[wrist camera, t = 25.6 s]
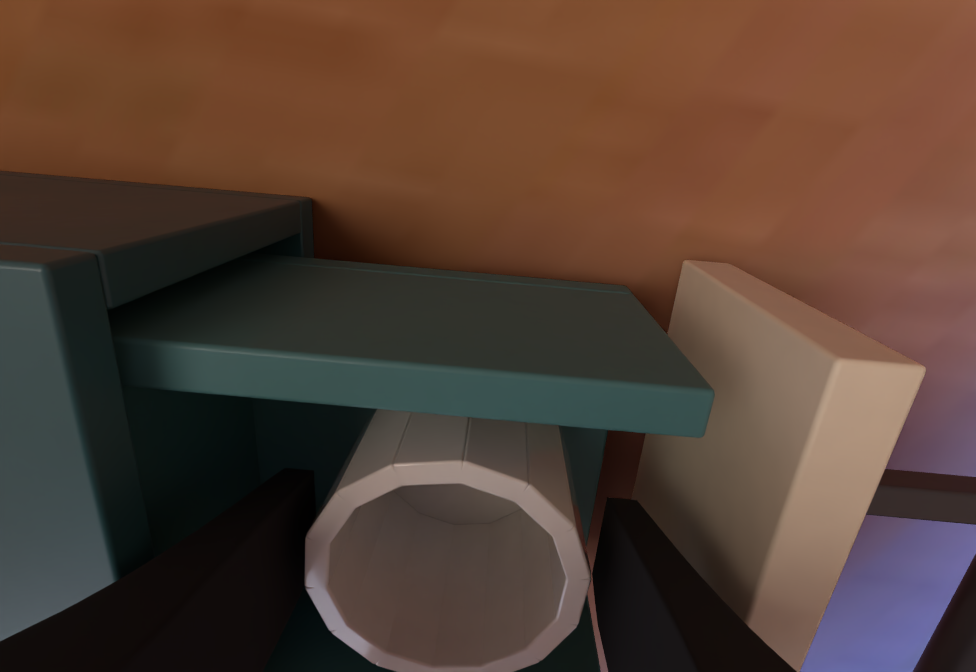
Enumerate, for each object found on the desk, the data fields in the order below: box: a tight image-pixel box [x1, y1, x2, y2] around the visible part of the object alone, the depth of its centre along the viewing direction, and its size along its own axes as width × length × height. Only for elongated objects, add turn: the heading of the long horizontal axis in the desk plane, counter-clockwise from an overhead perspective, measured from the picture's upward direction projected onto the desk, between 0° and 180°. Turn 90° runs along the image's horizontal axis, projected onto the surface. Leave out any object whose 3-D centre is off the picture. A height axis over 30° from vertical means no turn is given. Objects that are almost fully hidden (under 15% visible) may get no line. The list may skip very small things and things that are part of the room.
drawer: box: [107, 253, 976, 672], centre depth 11 cm, size 17×10×6 cm, turn 85°
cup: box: [304, 409, 591, 672], centre depth 11 cm, size 5×5×4 cm
